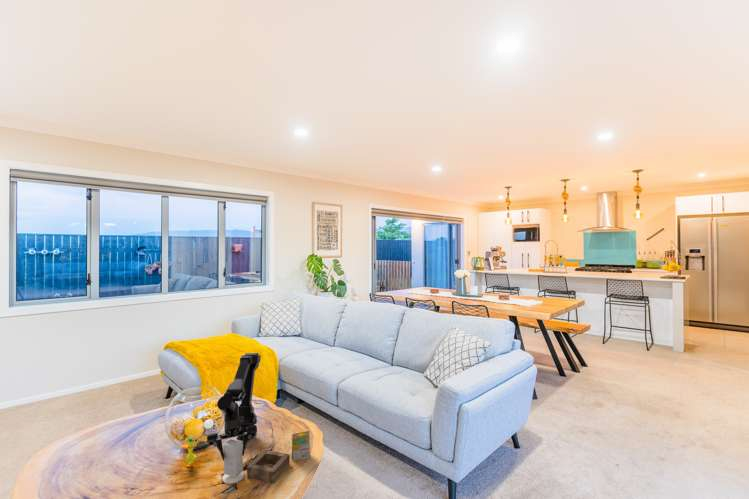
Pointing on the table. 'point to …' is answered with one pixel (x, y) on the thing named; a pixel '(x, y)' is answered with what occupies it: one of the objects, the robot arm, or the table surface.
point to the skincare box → (233, 458)
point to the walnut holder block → (265, 473)
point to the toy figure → (189, 451)
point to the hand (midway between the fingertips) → (233, 457)
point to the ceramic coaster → (233, 478)
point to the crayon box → (300, 446)
